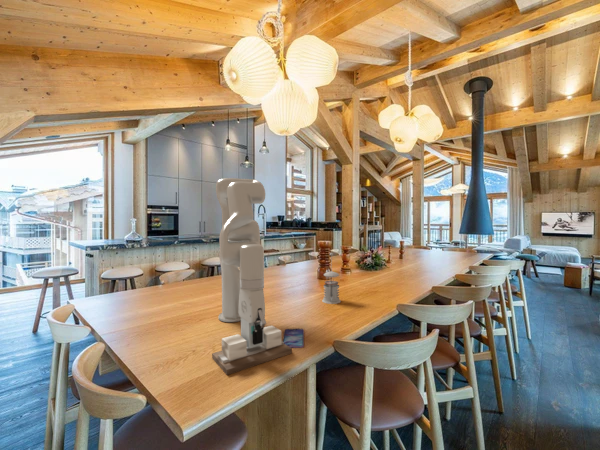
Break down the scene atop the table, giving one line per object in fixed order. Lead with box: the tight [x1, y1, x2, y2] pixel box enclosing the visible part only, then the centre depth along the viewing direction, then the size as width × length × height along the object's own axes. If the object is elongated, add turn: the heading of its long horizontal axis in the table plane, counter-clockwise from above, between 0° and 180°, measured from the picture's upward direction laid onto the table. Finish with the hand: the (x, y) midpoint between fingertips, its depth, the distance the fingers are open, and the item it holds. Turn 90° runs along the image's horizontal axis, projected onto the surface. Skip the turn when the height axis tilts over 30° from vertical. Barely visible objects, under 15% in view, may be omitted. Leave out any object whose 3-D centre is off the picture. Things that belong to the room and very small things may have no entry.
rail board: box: [211, 324, 293, 376], centre depth 94 cm, size 12×22×7 cm, turn 126°
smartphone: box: [282, 328, 305, 349], centre depth 107 cm, size 7×1×15 cm
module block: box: [240, 318, 264, 349], centre depth 93 cm, size 6×5×8 cm
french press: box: [321, 252, 341, 305], centre depth 151 cm, size 10×12×25 cm
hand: (252, 339), depth 93 cm, fingers closed on module block, 6 cm apart
